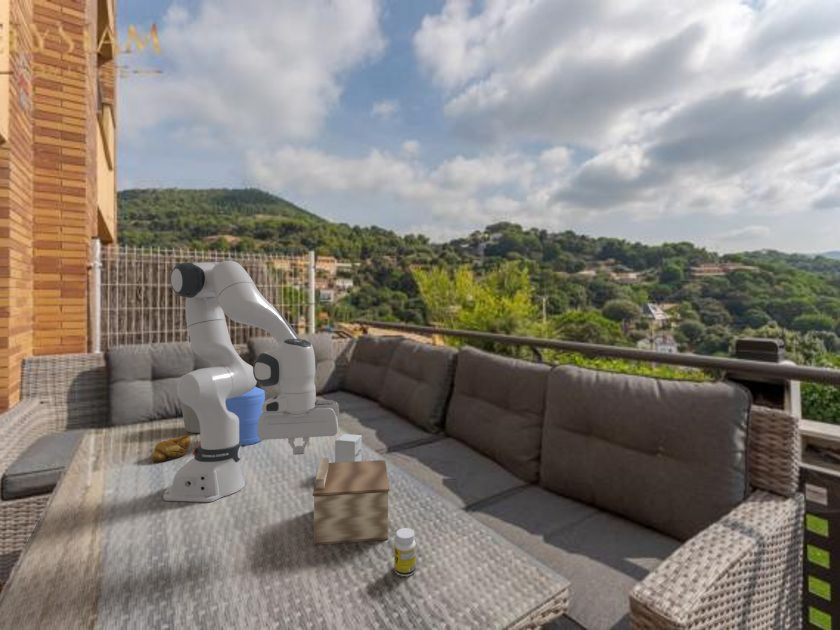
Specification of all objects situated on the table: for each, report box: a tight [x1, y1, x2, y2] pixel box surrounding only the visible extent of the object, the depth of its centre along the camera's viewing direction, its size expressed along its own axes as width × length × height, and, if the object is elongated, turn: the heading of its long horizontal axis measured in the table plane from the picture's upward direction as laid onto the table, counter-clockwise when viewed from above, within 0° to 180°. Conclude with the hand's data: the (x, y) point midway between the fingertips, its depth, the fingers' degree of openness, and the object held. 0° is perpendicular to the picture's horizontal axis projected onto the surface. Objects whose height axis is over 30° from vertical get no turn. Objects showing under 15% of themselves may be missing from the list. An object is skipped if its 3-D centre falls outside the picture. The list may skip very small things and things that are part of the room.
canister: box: [180, 400, 200, 434], centre depth 184 cm, size 18×18×21 cm
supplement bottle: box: [393, 527, 417, 577], centre depth 88 cm, size 5×5×8 cm
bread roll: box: [150, 434, 191, 463], centre depth 151 cm, size 13×10×8 cm
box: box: [313, 491, 389, 546], centre depth 107 cm, size 18×18×12 cm
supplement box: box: [334, 433, 363, 463], centre depth 138 cm, size 7×7×13 cm
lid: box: [312, 457, 390, 497], centre depth 106 cm, size 19×19×3 cm
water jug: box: [225, 386, 266, 447], centre depth 171 cm, size 16×16×28 cm
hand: (299, 453), depth 104 cm, fingers closed
